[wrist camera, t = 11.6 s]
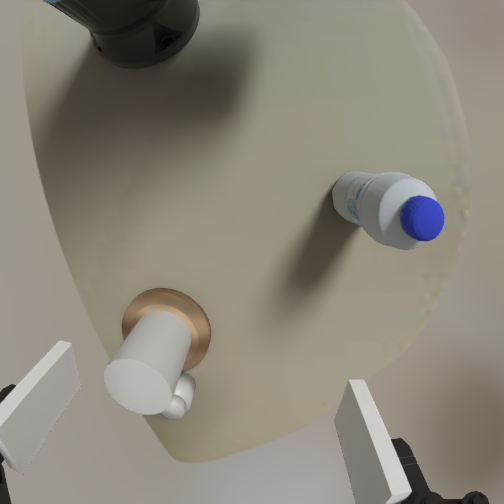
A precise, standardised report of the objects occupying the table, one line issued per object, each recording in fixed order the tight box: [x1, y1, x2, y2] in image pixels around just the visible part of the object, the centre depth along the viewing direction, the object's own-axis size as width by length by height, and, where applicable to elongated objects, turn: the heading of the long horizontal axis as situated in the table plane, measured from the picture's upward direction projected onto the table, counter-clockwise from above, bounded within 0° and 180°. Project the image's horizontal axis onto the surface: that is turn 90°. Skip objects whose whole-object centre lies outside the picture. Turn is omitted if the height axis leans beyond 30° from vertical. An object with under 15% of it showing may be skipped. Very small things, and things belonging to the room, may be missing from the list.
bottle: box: [332, 171, 444, 250], centre depth 29 cm, size 7×7×20 cm
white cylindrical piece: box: [103, 311, 191, 415], centre depth 36 cm, size 8×8×12 cm
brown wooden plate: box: [122, 288, 211, 371], centre depth 43 cm, size 13×13×2 cm
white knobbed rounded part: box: [161, 372, 196, 420], centre depth 44 cm, size 5×5×7 cm
